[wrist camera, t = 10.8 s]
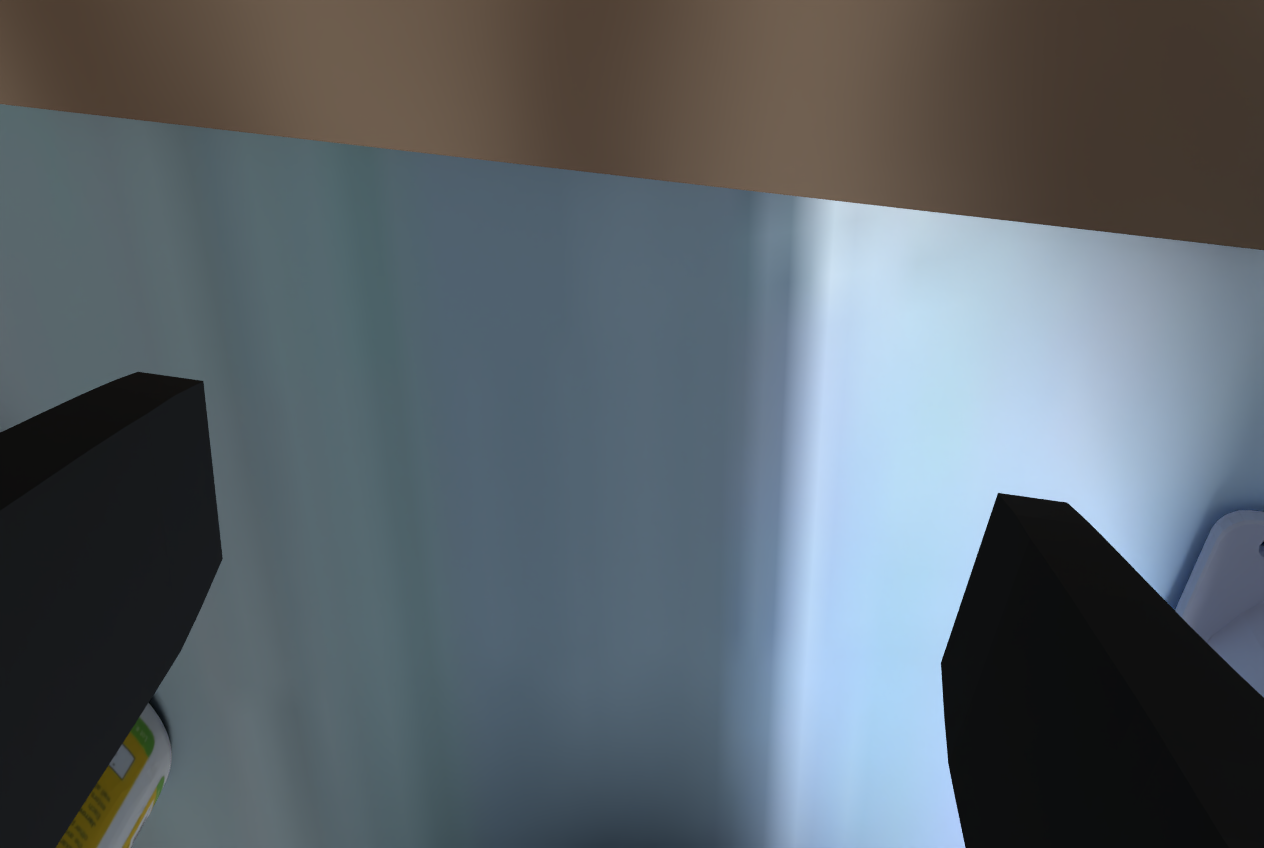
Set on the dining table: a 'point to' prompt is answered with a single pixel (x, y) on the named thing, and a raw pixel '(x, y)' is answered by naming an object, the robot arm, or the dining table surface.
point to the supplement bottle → (124, 789)
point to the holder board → (719, 93)
